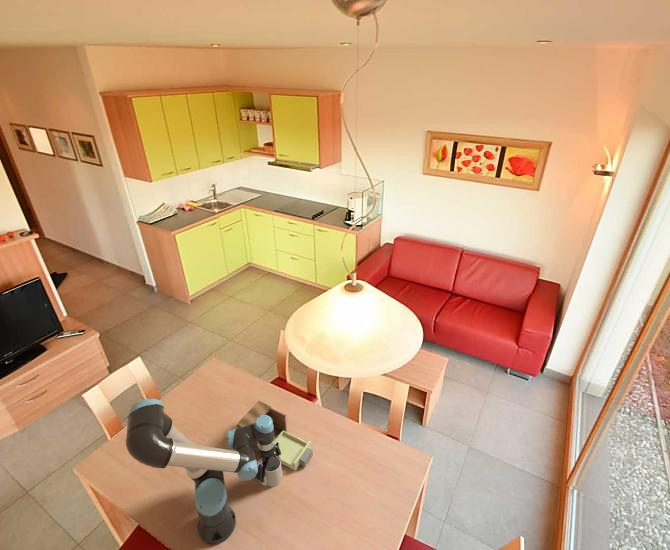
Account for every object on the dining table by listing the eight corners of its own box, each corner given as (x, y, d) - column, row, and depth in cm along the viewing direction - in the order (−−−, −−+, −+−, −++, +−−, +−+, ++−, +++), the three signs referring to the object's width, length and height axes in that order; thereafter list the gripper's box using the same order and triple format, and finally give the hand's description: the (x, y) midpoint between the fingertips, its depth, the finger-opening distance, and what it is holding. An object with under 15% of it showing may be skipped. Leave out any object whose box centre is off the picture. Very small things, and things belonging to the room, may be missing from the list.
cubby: (267, 459, 189) (264, 438, 182) (240, 444, 196) (236, 423, 189) (286, 433, 202) (285, 413, 195) (261, 420, 209) (258, 400, 202)
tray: (300, 473, 182) (300, 466, 179) (266, 454, 190) (265, 447, 188) (316, 450, 193) (316, 443, 190) (283, 433, 201) (282, 426, 199)
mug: (285, 472, 183) (284, 457, 178) (277, 489, 176) (276, 474, 171) (262, 465, 186) (260, 450, 181) (253, 481, 179) (251, 466, 174)
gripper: (257, 467, 160) (262, 499, 172) (287, 430, 177) (289, 461, 188) (243, 459, 163) (248, 491, 175) (274, 423, 180) (277, 454, 191)
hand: (270, 475), depth 181 cm, fingers closed on mug, 8 cm apart
